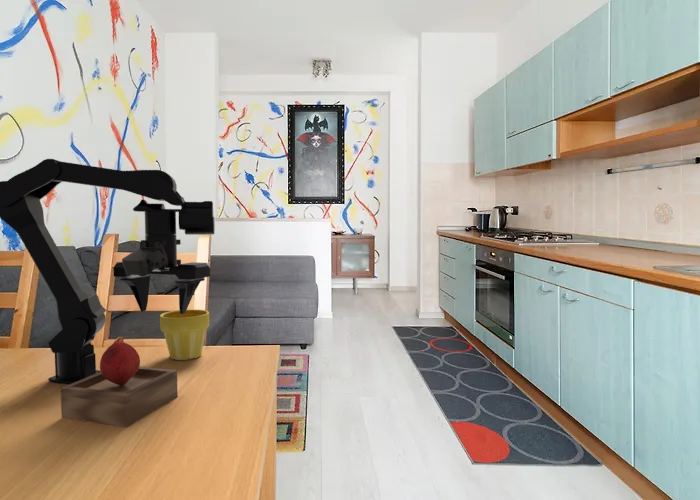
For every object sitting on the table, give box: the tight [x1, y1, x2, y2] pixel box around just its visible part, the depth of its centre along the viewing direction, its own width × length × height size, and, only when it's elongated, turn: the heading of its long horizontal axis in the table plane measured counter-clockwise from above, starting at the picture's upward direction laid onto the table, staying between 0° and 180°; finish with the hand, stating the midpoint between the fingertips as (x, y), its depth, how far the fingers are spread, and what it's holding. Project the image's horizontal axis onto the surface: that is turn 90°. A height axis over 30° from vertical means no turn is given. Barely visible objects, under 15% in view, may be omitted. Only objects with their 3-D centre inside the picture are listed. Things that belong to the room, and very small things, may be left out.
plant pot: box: [159, 308, 210, 361], centre depth 102 cm, size 10×10×10 cm
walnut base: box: [60, 366, 178, 428], centre depth 74 cm, size 12×12×5 cm
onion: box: [99, 336, 141, 386], centre depth 74 cm, size 6×6×8 cm
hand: (162, 312), depth 91 cm, fingers open, 9 cm apart
